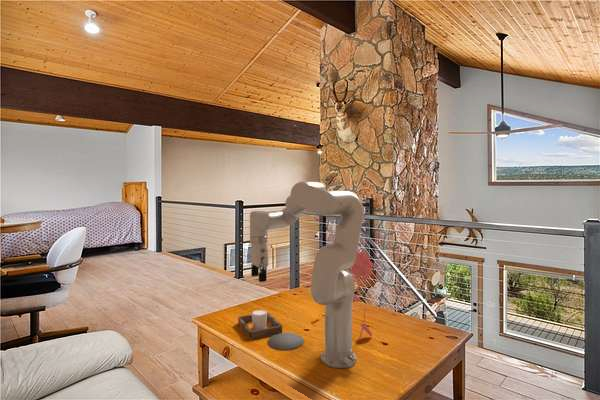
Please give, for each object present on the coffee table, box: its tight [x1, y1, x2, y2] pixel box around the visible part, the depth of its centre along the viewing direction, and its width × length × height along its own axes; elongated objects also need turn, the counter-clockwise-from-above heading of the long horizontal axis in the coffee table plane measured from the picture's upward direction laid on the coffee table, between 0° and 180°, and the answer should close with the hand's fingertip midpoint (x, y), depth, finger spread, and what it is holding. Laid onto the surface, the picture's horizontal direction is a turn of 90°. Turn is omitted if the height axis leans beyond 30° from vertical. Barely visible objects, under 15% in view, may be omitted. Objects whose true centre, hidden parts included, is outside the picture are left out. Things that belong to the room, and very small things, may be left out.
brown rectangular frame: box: [237, 312, 283, 341], centre depth 147 cm, size 18×14×3 cm
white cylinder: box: [251, 309, 268, 331], centre depth 147 cm, size 7×7×7 cm
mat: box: [267, 332, 305, 351], centre depth 134 cm, size 14×14×1 cm
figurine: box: [350, 249, 385, 346], centre depth 143 cm, size 15×26×35 cm, turn 41°
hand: (258, 278), depth 146 cm, fingers open, 9 cm apart
